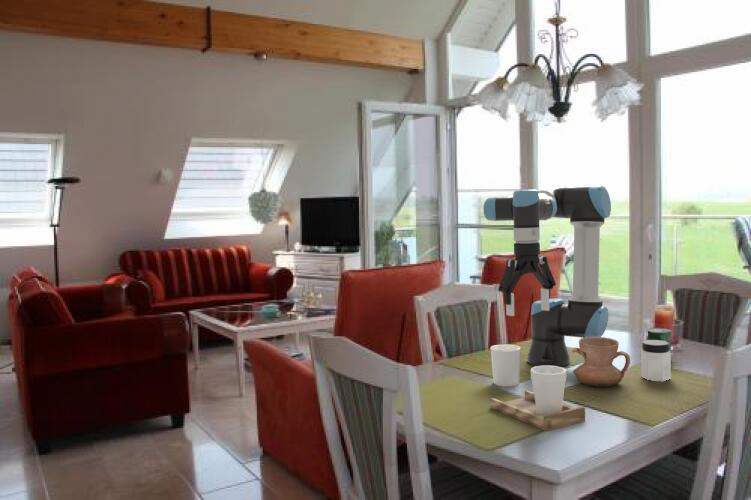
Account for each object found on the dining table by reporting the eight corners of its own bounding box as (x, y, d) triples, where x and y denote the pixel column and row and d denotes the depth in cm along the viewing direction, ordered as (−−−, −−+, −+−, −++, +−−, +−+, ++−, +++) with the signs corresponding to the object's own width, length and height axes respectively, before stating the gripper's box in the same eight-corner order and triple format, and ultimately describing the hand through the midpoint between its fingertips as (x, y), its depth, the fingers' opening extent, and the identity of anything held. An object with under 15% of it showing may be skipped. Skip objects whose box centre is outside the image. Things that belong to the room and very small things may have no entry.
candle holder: (522, 379, 216) (522, 344, 215) (519, 388, 207) (518, 351, 206) (493, 378, 220) (492, 343, 219) (489, 386, 210) (488, 350, 209)
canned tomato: (645, 360, 235) (645, 331, 234) (649, 356, 241) (649, 327, 240) (669, 363, 230) (669, 332, 229) (672, 358, 237) (672, 328, 236)
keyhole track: (490, 407, 189) (490, 395, 189) (527, 399, 196) (527, 387, 195) (546, 431, 169) (546, 417, 168) (585, 420, 175) (585, 407, 175)
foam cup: (527, 411, 182) (526, 366, 181) (559, 409, 183) (558, 364, 182) (538, 423, 173) (537, 375, 172) (572, 420, 173) (571, 373, 172)
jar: (659, 383, 207) (659, 346, 206) (636, 378, 214) (636, 342, 213) (675, 378, 212) (675, 342, 211) (652, 373, 218) (652, 338, 218)
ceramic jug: (568, 387, 206) (568, 344, 205) (573, 375, 219) (573, 334, 218) (629, 393, 199) (629, 348, 197) (630, 380, 212) (631, 337, 211)
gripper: (501, 245, 182) (503, 319, 183) (567, 239, 194) (568, 309, 195) (485, 244, 188) (486, 315, 190) (549, 238, 200) (550, 306, 202)
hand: (528, 312), depth 193 cm, fingers open, 13 cm apart
